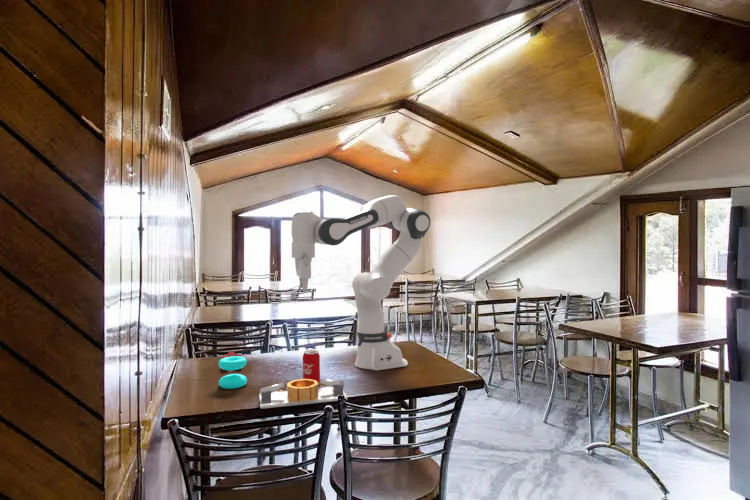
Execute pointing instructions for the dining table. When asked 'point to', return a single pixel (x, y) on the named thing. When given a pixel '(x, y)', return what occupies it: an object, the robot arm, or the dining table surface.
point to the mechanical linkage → (231, 355)
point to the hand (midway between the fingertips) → (303, 289)
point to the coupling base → (301, 393)
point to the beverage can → (311, 365)
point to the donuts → (232, 379)
